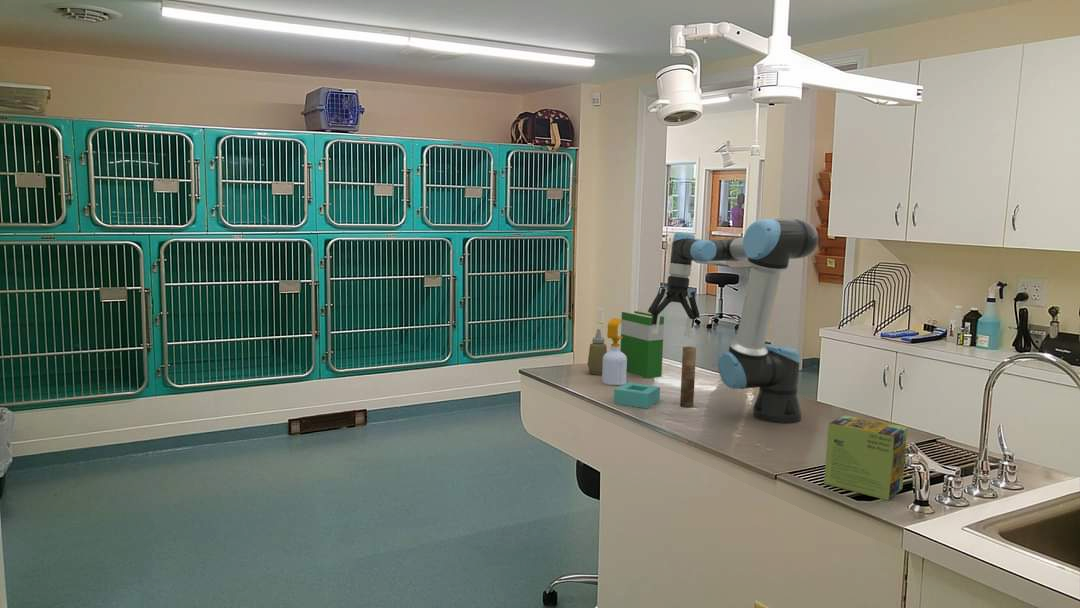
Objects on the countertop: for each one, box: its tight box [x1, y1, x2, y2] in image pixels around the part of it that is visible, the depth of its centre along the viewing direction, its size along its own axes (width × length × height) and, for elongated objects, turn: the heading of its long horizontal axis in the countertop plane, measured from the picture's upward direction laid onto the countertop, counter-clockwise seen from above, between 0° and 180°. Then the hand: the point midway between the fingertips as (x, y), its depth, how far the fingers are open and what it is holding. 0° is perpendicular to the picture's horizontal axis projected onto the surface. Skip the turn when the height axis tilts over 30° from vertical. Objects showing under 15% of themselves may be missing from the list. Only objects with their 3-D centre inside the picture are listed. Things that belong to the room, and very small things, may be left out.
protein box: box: [823, 415, 908, 501], centre depth 180 cm, size 10×15×16 cm
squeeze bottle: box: [587, 328, 608, 376], centre depth 297 cm, size 8×8×18 cm
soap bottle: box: [601, 317, 628, 386], centre depth 281 cm, size 9×9×25 cm
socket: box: [613, 382, 661, 409], centre depth 255 cm, size 12×12×5 cm
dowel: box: [679, 346, 697, 409], centre depth 251 cm, size 4×4×20 cm
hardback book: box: [620, 310, 665, 379], centre depth 300 cm, size 18×7×24 cm, turn 31°
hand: (671, 335), depth 267 cm, fingers open, 13 cm apart
